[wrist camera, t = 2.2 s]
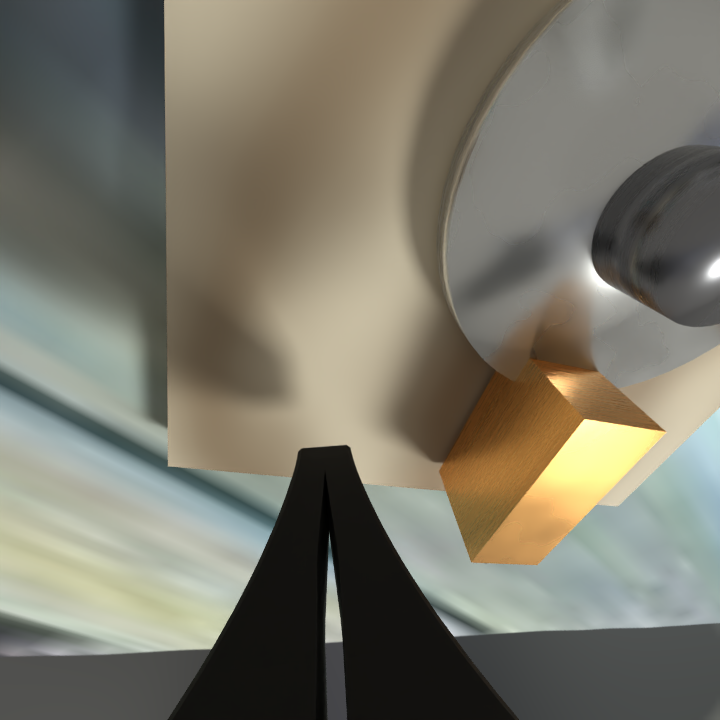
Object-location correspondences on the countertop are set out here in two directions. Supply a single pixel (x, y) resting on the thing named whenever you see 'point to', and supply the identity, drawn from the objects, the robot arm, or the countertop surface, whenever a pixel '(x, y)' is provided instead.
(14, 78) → the countertop surface
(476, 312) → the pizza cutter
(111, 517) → the countertop surface
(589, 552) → the countertop surface
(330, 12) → the board
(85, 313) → the countertop surface
